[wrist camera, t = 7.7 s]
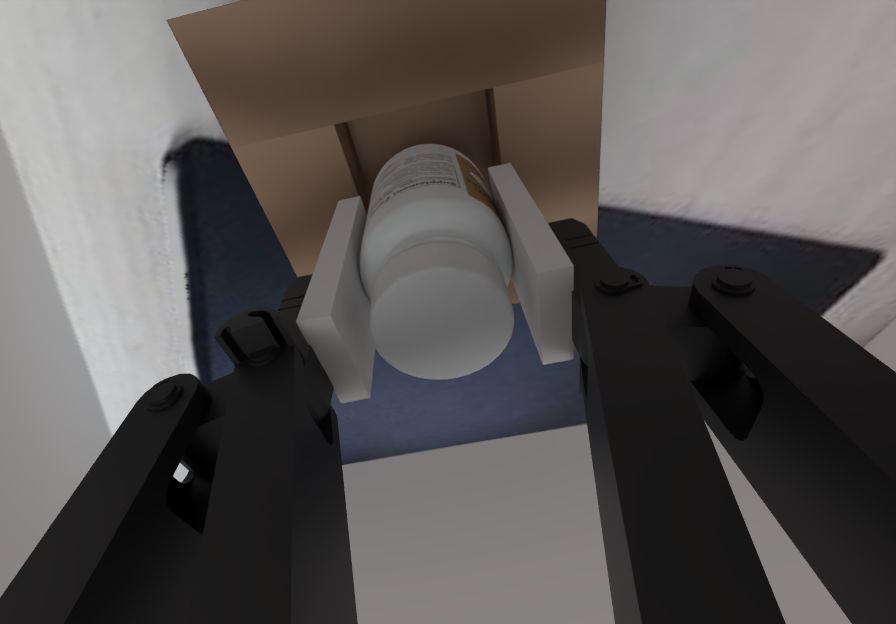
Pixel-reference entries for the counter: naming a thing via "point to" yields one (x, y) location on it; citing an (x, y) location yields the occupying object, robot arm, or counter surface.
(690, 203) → the counter surface
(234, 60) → the socket block
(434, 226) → the pill bottle
